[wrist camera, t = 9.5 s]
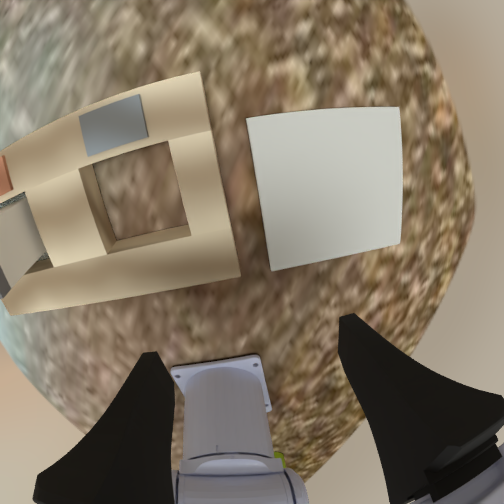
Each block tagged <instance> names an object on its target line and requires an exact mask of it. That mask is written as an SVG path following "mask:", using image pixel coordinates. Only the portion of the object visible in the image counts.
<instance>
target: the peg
mask: <svg viewBox="0 0 504 504" xmlns="http://www.w3.org/2000/svg"><path fill="white" fill-rule="evenodd" d="M46 251H47V250H46V248H45V246H44V243H43V241H42V238H41V236H40V233H39V231H38V228H37V225H36V223H35V220H34V217H33V214H32V212H31V209H30V206H29V203H28V200H27V197H24V198H22V199H19V200H17V201H15V202H13V203H10V204H8V205H6V206H4V207H2V208H0V299H3V298H4V297H5V296H6V295H7V293H8V292H9V291H10V290H11V289H12V288H13V286H14V285H15V284H16V283H17V282H18V281H19V279H20V278H21V277H22V276H23V275H24V274H25V273H26V272H27V271H28V269H29V268H30V267H31V266H32V265H33V264H34V263H35V262H36V261H37V260H38V259H39V258H40V257H41V256H42V255H43V254H44V253H45V252H46Z"/></svg>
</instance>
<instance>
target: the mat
mask: <svg viewBox="0 0 504 504" xmlns="http://www.w3.org/2000/svg"><path fill="white" fill-rule="evenodd" d="M246 124H247V129H248V135H249V141H250V147H251V153H252V158H253V164H254V170H255V176H256V182H257V188H258V194H259V200H260V207H261V213H262V219H263V225H264V231H265V238H266V244H267V250H268V257H269V263H270V269H271V271H276V270H281V269H286V268H290V267H295V266H300V265H305V264H310V263H314V262H319V261H324V260H329V259H333V258H338V257H342V256H347V255H352V254H356V253H361V252H365V251H370V250H374V249H378V248H383V247H387V246H392V245H396V244H400V237H401V221H402V189H403V170H402V139H401V124H400V112H399V107H351V108H332V109H318V110H306V111H296V112H287V113H279V114H271V115H264V116H257V117H251V118H246Z"/></svg>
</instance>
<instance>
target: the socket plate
mask: <svg viewBox="0 0 504 504" xmlns="http://www.w3.org/2000/svg"><path fill="white" fill-rule="evenodd" d="M164 141H168V142H169V146H170V151H171V155H172V159H173V164H174V168H175V172H176V176H177V181H178V185H179V189H180V193H181V197H182V201H183V205H184V209H185V212H186V216H187V220H188V225H183V226H179V227H174V228H169V229H165V230H161V231H156V232H152V233H147V234H143V235H139V236H135V237H130V238H126V239H122V240H118V241H116V238H115V235H114V232H113V230H112V227H111V224H110V221H109V218H108V215H107V212H106V209H105V206H104V203H103V199H102V196H101V193H100V190H99V186H98V183H97V179H96V176H95V172H94V169H93V165H92V164H93V163H95V162H98V161H101V160H104V159H107V158H110V157H113V156H116V155H119V154H122V153H126V152H129V151H132V150H135V149H139V148H142V147H146V146H149V145H153V144H156V143H160V142H164ZM24 191H25V193H26V197H27V200H28V203H29V206H30V209H31V212H32V214H33V217H34V220H35V223H36V225H37V228H38V231H39V233H40V236H41V238H42V241H43V243H44V246H45V248H46V250H47V253H48V255H49V257H50V258H48V259H45V260H41V261H38V262H35V263H34V264H33V265H32V266H31V267H30V268H29V269H28V271H27V272H26V273H25V274H24V275H23V276H22V277H21V278H20V279H19V281H18V282H17V283H16V284H15V285H14V286H13V288H12V289H11V290H10V291H9V292H8V293H7V295H6V296H5V297H4V298H3V299H1V300H2V302H3V303H4V305H5V307H6V309H7V310H8V312H9V314H10V315H11V316H13V315H20V314H27V313H34V312H40V311H47V310H53V309H60V308H66V307H73V306H79V305H85V304H91V303H97V302H104V301H110V300H115V299H121V298H127V297H133V296H139V295H145V294H150V293H156V292H161V291H167V290H173V289H178V288H183V287H189V286H194V285H200V284H205V283H210V282H216V281H221V280H226V279H231V278H236V277H241V272H240V265H239V259H238V254H237V250H236V245H235V240H234V236H233V231H232V226H231V221H230V216H229V212H228V207H227V202H226V197H225V192H224V187H223V182H222V177H221V172H220V167H219V162H218V157H217V152H216V147H215V142H214V137H213V132H212V127H211V122H210V116H209V111H208V106H207V101H206V95H205V90H204V85H203V79H202V75H201V73H200V72H195V73H190V74H186V75H182V76H178V77H174V78H170V79H166V80H162V81H159V82H155V83H152V84H148V85H145V86H142V87H139V88H135V89H132V90H129V91H126V92H123V93H121V94H118V95H115V96H112V97H109V98H107V99H104V100H101V101H99V102H96V103H94V104H91V105H89V106H87V107H84V108H82V109H79V110H77V111H75V112H73V113H70V114H68V115H66V116H64V117H62V118H60V119H58V120H55V121H53V122H51V123H49V124H47V125H45V126H43V127H42V128H40V129H38V130H36V131H34V132H32V133H30V134H29V135H27V136H25V137H23V138H21V139H20V140H18V141H16V142H15V143H13V144H11V145H10V146H8V147H6V148H5V149H3V150H2V151H0V203H2V202H4V201H6V200H8V199H10V198H12V197H14V196H16V195H18V194H20V193H22V192H24Z"/></svg>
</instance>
